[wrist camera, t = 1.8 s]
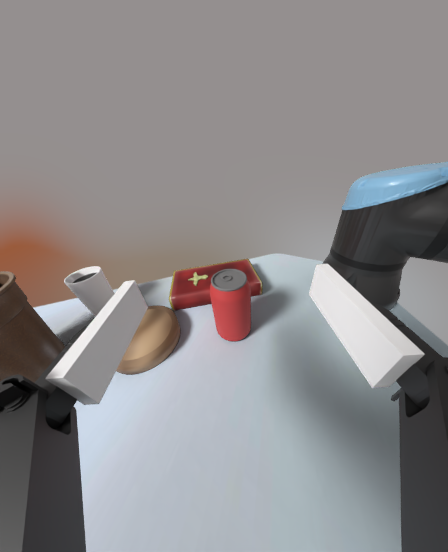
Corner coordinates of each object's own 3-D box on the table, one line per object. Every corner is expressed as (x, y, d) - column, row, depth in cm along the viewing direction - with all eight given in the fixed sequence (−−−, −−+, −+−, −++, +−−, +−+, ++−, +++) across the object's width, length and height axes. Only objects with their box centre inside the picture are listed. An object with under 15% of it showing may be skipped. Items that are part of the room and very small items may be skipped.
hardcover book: (262, 296, 39) (262, 282, 37) (173, 312, 38) (168, 299, 35) (248, 270, 49) (248, 257, 47) (177, 282, 47) (173, 270, 45)
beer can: (233, 310, 36) (228, 262, 29) (257, 326, 32) (259, 275, 25) (210, 329, 32) (198, 280, 25) (234, 350, 28) (228, 298, 21)
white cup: (123, 308, 40) (101, 274, 34) (91, 322, 37) (61, 288, 31) (119, 294, 44) (100, 263, 39) (91, 306, 42) (65, 274, 36)
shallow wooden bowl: (185, 311, 37) (182, 303, 35) (171, 371, 26) (166, 363, 25) (129, 315, 37) (124, 308, 36) (93, 377, 27) (84, 369, 25)
